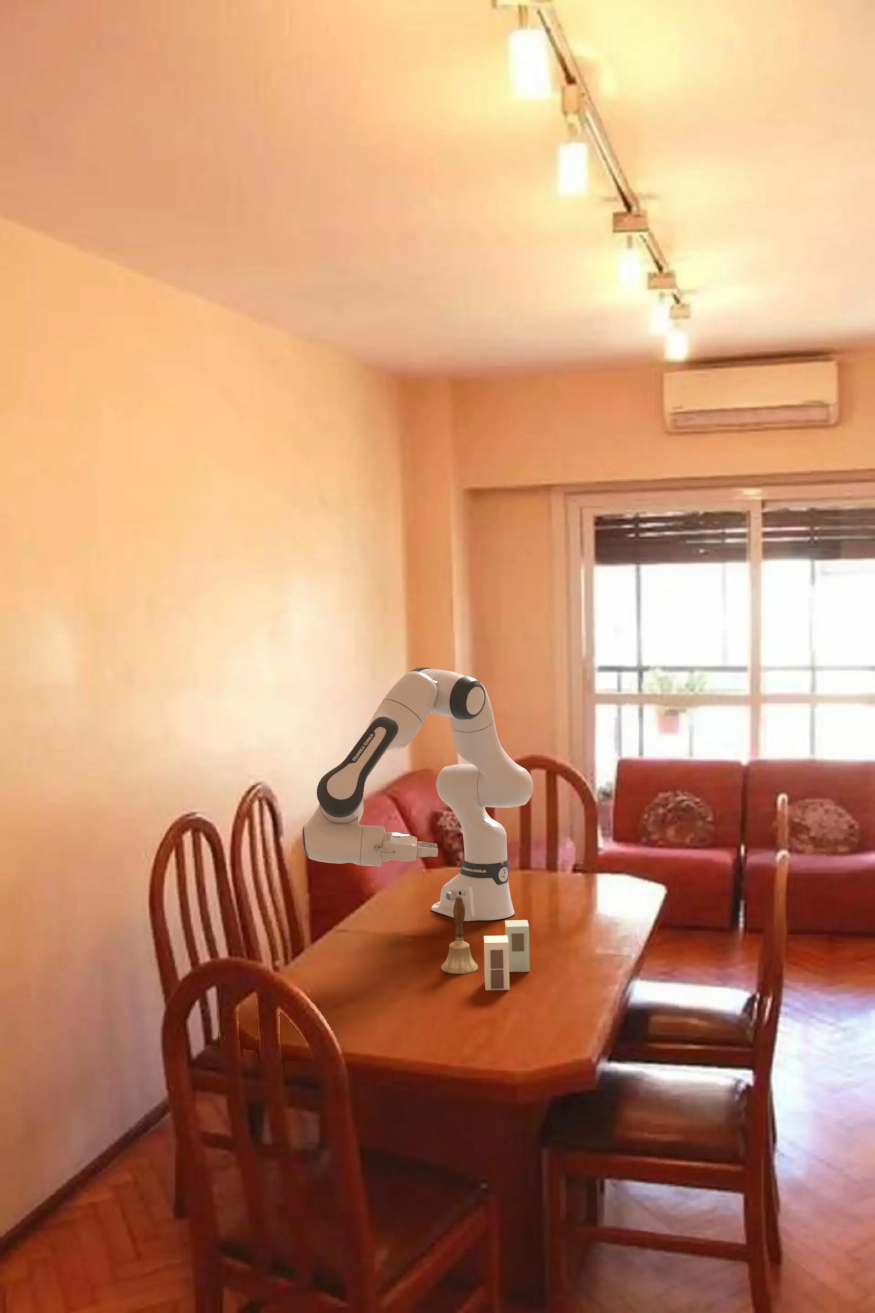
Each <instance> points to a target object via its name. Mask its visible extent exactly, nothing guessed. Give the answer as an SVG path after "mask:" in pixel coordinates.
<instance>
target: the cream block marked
mask: <svg viewBox="0 0 875 1313" xmlns="http://www.w3.org/2000/svg"><path fill="white" fill-rule="evenodd" d="M483 959H484V960H483V962H484V964H483V965H484V967H483V968H484V987H485V988H484V989H485V991H510V990H511V989H510V972H509V942H508V936H507V935H505V934H504V935H483Z"/></svg>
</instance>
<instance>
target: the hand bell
mask: <svg viewBox="0 0 875 1313" xmlns="http://www.w3.org/2000/svg"><path fill="white" fill-rule="evenodd" d="M453 915H454V918H453V919H454V924H455V940H454V941H453V942H450V943H449V947H448V948H449V949H448V954H447V957H446V959H445V961H444V962H443V963H442V964H441V966H440V969H441V970H442V971H443V972H445V973H448V974H451V975H452V974H453V975H463V974H464V975H465V974H471V973H475V972H476V971H478V970H479V965H478V963H477V962H475V960H474V959H473V957H472V953H471V947H470V944H469V943H468V942H466V941H464V927H463V926H464V922H465V921H464V918H465V907H464V903H463V900H462V897H456V901H455V904H454V908H453Z"/></svg>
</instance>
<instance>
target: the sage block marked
mask: <svg viewBox="0 0 875 1313" xmlns="http://www.w3.org/2000/svg"><path fill="white" fill-rule="evenodd" d="M505 935H507V936H508V942H509V973H516V972H517V973H521V972H523V973H525V972H526V973H528V972H529V973H530V972H531V971H530V970H531V966H530V958H531V957H530V955H531V954H530V926H529V922H528V919H520V920H519V919H515V920H513V919H512V920H511V919H510V920H504V936H505Z"/></svg>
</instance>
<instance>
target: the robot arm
mask: <svg viewBox="0 0 875 1313" xmlns="http://www.w3.org/2000/svg"><path fill="white" fill-rule="evenodd" d="M430 714H431V715H435V716H440V717H441V716H442V717H448V718H449V721H450V727H451V732H452V738H453V742H454V748H455V751H456V752H457V754H458V756H460V757H461V758H462V759H463V760H465V761H466V762H469V763H458V764H457V763H455V764H452V765H446V766H444V767H443V768H442V769H441V770H440V772H439V773H438V775H437V778H436V782H435V787H436V788H435V789H436V791H437V795H438V797H439V798H440V799H441V802H443V803H445V804H446V805H447V806H448V807H449V808H450V809H451V810H452V811H453V812H454V814H455V816H456V818H457V820H458V821H459V824H460V826H461V831H462V836H463V848H464V851H463V852H464V858H463V859H462V860H460V861H456V863H457V865H456V867H460V869H459V872H458V874H456V875H455V876H454V877H452V878H451V879H450V880H449V881H447V882H446V883H445V884H444V885H443V886H442V888H441V890H440V891H441V892H440V897H439V899H440V900H439V901H437V902H436V903H433V905H432V906H431V911H433V912H436V913H439V914H441V915H445V916H447V917H449V918H453V919H454V915H453V908H454V904H455V901H456V897H462V900H463V903H464V907H465V918H464V922H471V921H472V922H474V921H496V920H497V921H498V920H502V919H507V918H510V917H512V916H513V915H515V910H514V909H515V908H514V906H513V901H512V897H511V896H512V895H511V890H510V885H509V875H510V862H509V860H510V859H508V841H507V840H508V839H507V838H508V836H507V832H506V829H505V827H504V826H503V825H502V824H501V823H500V822H498V821H497V820H495V819H493V818H492V817H491V816H490V815H489V814H488V812H487V811H486V808H503V809H504V808H505V809H509V808H515V807H521V806H525V805H526V804H527V803H528V802H529V801H530V799H531V798H532V795H533V793H534V781H533V778H532V775H531V774H530V773H529V771H528V770H527V769H526V768H524V767H522V766H521V765H520V764H518V763H517V762H515V760H513V759H512V758H511V757H510V756H509V755H508V753H507V752H506V751H505V750H504V748H503V746H502V744H501V742H500V739H499V735H498V731H497V726H496V721H495V716H494V711H493V707H492V703H491V699H490V697H489V693H488V692H487V689H486V687H485V686H484V684H483V683H481V682H480V681H479V680H477V679H476V678H474V677H472V676H470V675H463V674H462V673H458V672H455V671H451V670H444V669H435V668H431V667H425V666H423V667H416V668H413V669H412V670H410V671H409V672H406V673H405V674H404V675H403V676H402V677H400V678H399V679H398V681H396V683H395V684H394V685H393V686H392V687H391V689H390V690H389V691H388V693H387V694H386V695H385V697H384V698H383V699H382V700H381V702H380V704H379V705H378V707H377V709H376V711H375V712H374V713H373V716H372V718H371V719H370V722H369V724H368V726H367V728H366V730H365V731H364V733H363V734H362V735H361V737H360V738H359V739H358V741H357V742H356V744H355V745H354V746H353V747H352V749H351V750H350V752H349V754H348V755H347V756H346V757H345V758H344V760H342V762H340V763H339V764H338V765H337V766H335V767H334V768H332V769H331V770H328V772H326V773H325V774H324V775H323V776H322V777H321V778H320V779H319V781H318V785H317V786H316V787H317V788H316V798H317V801H318V807H317V809H316V810H315V811H314V813H313V815H312V816H311V817H310V818H309V820H307V822H306V823H305V824H303V827H302V834H301V836H302V844H303V852H304V854H305V855H306V857H307V858H308V859H310V860H312V861H316V862H320V863H322V862H323V863H327V864H338V865H339V864H346V863H347V864H349V863H350V864H355V865H357V866H365V867H367V866H369V867H382V866H383V865H382V863H383V862H390V861H398V862H399V861H401V862H416V861H417V858H426V857H427V858H428V857H433V858H436V857H438V855H439V849H438V845H437V844H438V843H431V842H425V841H420V840H419V841H418V837H416V836H414V835H410V834H404V833H399V832H393V831H386V828H385V826H383V825H382V826H381V825H369V824H367V825H366V824H360V823H361V820H362V817H363V814H364V811H365V810H364V808H365V807H364V804H365V803H364V802H365V801H364V791H365V785H366V781H367V779H368V778H369V776H370V775H371V773H372V772H373V771H374V769H375V767H376V766H377V764H378V763H379V761H380V760H381V759H382V757H383V756H384V755H385V754H386V753H387V752H388V751H389V750H396V751H397V750H401V749H404V748H406V747H407V746H408V745H409V744H410V743H411V742H412V741H413V740H414V739H415V738H416V736H417V734H419V732H420V730H421V729H422V727H423V726H424V724H425V722H426V720H427V719H428V717H429V715H430Z"/></svg>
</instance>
